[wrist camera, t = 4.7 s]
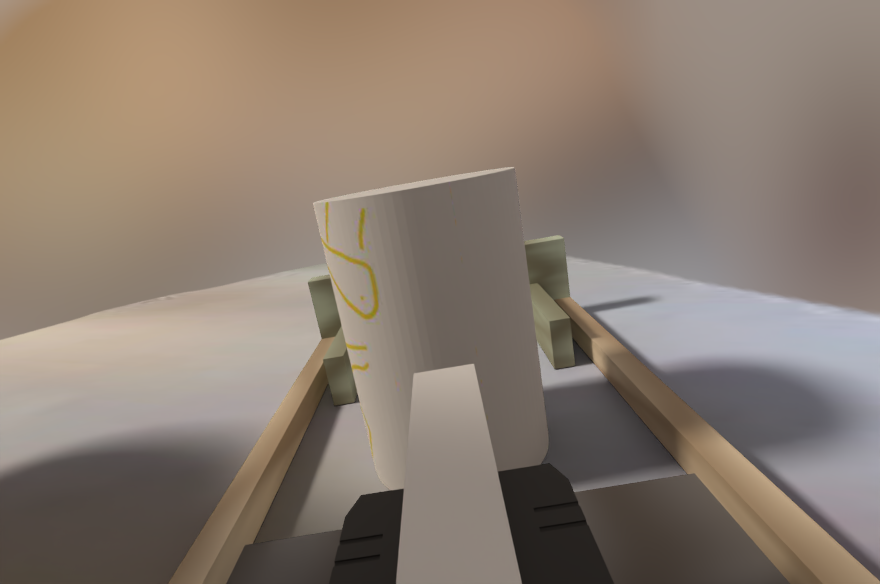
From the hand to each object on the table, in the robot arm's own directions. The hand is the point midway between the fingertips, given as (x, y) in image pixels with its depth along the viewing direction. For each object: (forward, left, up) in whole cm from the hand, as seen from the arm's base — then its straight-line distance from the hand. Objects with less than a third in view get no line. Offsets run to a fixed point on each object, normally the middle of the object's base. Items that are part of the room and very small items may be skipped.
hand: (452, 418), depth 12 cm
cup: (0, +9, -7) cm, 11 cm away
